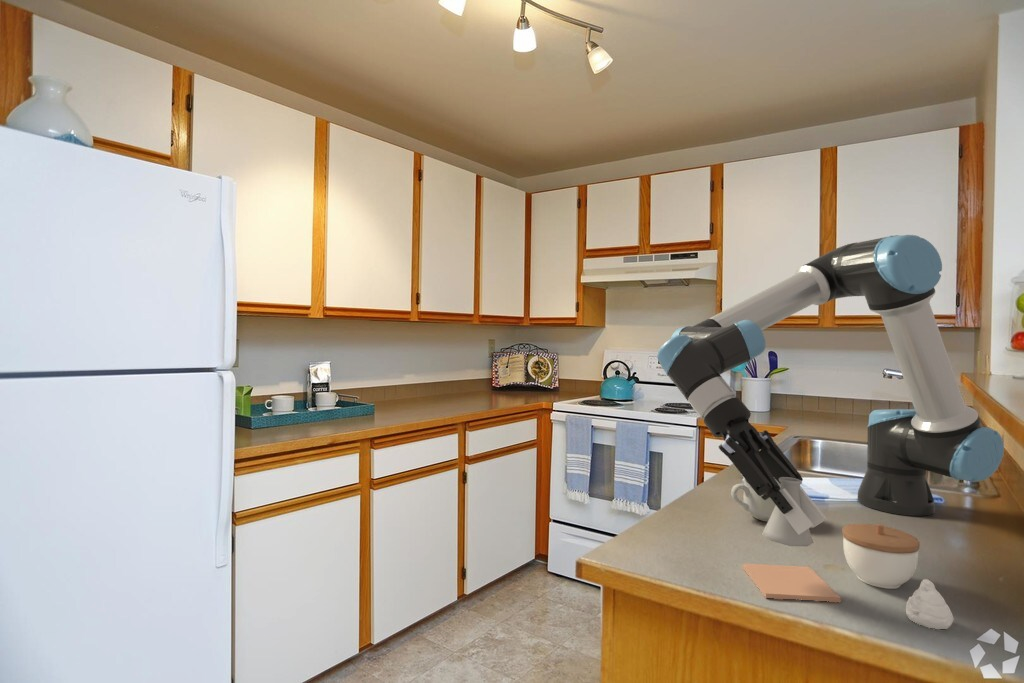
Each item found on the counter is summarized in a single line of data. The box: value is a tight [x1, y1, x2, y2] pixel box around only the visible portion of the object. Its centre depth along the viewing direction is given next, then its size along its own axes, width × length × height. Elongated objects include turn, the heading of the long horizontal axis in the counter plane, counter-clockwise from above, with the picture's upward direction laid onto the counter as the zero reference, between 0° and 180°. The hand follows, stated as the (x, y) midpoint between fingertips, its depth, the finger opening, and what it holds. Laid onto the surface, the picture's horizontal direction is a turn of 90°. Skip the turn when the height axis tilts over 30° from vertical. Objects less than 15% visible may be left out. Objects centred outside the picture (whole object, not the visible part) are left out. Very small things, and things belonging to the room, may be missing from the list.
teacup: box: [730, 478, 781, 523], centre depth 124 cm, size 14×11×8 cm
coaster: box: [742, 563, 841, 603], centre depth 92 cm, size 11×11×1 cm
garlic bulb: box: [905, 578, 954, 630], centre depth 81 cm, size 6×6×5 cm
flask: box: [761, 477, 814, 548], centre depth 92 cm, size 7×7×10 cm
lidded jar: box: [841, 523, 921, 590], centre depth 94 cm, size 11×11×9 cm
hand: (812, 526), depth 89 cm, fingers closed on flask, 4 cm apart
